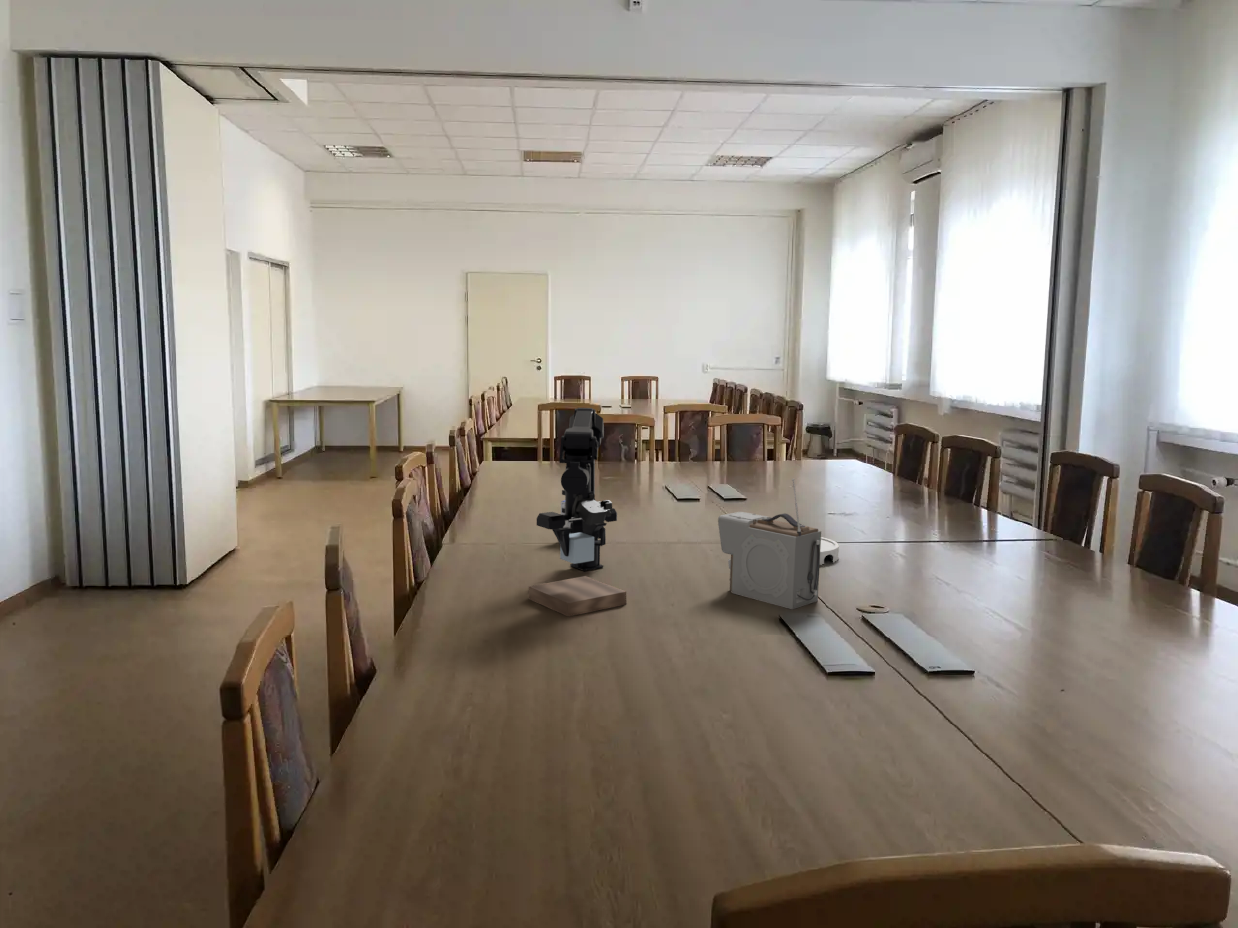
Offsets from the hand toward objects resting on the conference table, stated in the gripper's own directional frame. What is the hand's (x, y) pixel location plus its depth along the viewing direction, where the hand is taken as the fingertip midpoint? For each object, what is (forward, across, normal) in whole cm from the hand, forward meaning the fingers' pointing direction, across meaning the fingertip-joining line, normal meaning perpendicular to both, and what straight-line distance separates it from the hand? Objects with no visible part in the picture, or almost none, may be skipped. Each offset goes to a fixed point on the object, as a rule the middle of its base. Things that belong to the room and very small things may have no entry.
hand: (577, 554), depth 206 cm
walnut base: (+11, 0, 0) cm, 11 cm away
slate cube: (+1, 0, 0) cm, 1 cm away
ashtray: (+11, +77, +2) cm, 78 cm away
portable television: (+11, +40, -21) cm, 47 cm away
